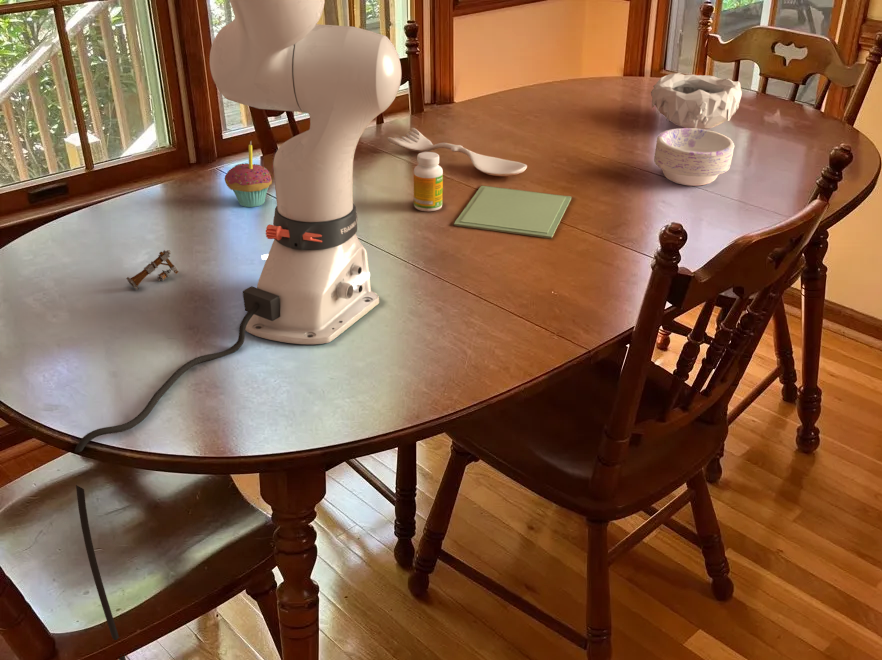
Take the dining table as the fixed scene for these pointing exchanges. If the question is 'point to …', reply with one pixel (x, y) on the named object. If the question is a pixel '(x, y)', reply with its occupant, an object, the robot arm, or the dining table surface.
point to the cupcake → (249, 182)
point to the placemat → (514, 211)
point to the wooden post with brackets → (151, 267)
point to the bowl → (696, 99)
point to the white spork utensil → (479, 161)
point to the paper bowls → (693, 155)
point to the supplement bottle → (428, 182)
